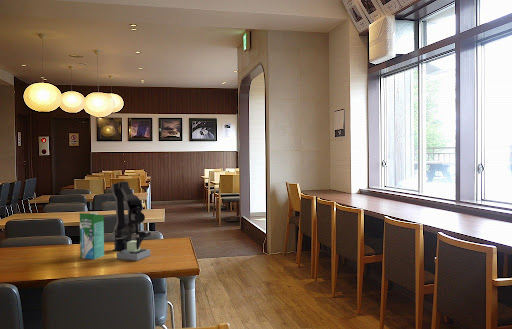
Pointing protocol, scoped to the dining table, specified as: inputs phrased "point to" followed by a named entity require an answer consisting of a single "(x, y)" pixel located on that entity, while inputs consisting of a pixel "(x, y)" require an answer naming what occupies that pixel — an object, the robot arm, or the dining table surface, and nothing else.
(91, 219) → the milk carton
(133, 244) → the sage cube
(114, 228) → the robot arm
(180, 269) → the dining table surface
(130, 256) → the slate bin
